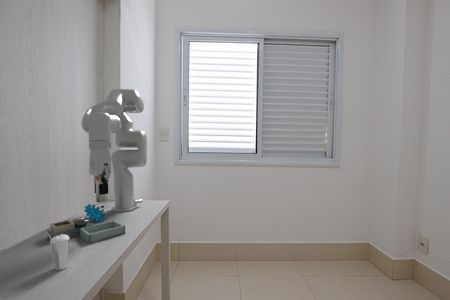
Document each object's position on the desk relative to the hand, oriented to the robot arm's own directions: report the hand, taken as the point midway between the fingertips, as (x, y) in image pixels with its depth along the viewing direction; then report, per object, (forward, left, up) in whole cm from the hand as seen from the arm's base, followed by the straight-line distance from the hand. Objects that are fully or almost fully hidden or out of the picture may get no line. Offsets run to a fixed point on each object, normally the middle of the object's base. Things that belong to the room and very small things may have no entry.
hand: (101, 193), depth 94 cm
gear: (-5, -21, -16) cm, 27 cm away
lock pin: (0, 0, -3) cm, 3 cm away
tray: (0, 0, -16) cm, 16 cm away
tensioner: (+8, -10, -16) cm, 20 cm away
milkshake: (+18, +17, -16) cm, 29 cm away
